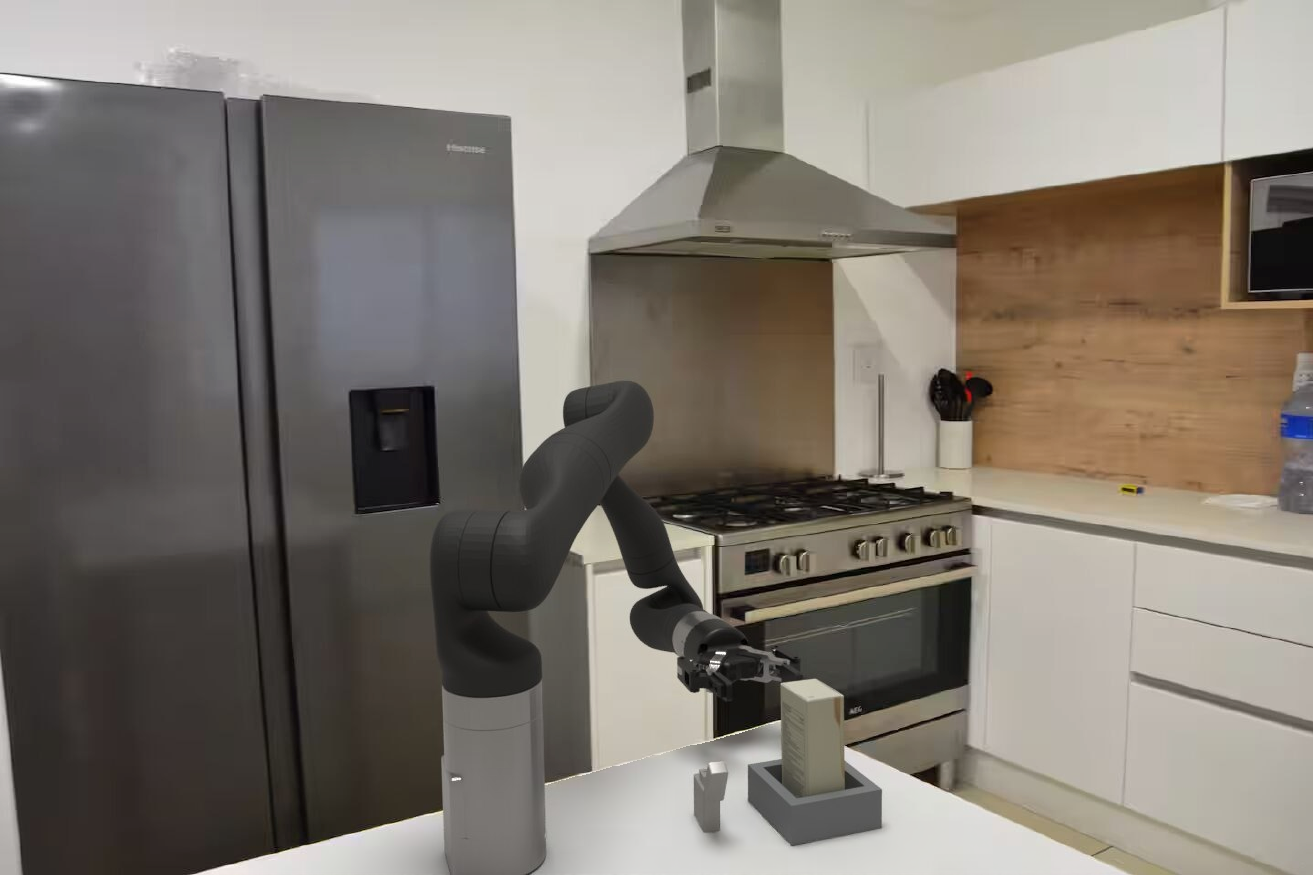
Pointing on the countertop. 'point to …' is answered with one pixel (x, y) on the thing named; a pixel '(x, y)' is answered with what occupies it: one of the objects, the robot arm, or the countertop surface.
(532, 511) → the robot arm
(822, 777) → the skincare box
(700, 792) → the lighter
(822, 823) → the holder
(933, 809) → the countertop surface
